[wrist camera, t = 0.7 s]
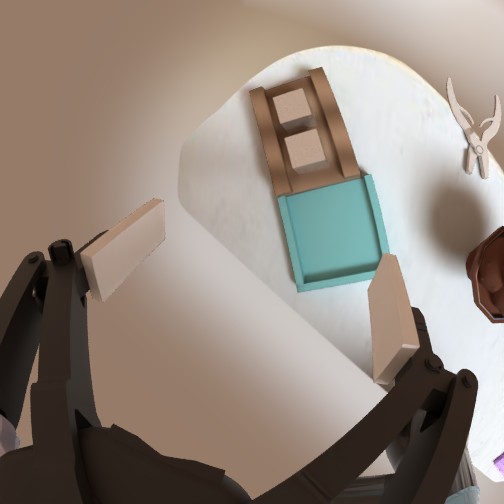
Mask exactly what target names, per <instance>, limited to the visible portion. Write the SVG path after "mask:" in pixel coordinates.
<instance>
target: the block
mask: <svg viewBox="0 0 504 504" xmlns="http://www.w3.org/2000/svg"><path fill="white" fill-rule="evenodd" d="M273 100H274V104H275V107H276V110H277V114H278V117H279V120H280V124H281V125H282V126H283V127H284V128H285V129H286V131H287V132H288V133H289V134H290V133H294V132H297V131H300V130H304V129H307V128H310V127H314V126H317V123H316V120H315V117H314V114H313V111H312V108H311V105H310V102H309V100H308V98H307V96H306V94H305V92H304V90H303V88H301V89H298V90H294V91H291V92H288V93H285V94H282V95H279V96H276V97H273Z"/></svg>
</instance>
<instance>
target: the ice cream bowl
mask: <svg viewBox="0 0 504 504" xmlns="http://www.w3.org/2000/svg"><path fill="white" fill-rule="evenodd" d="M466 269H467V275H468V278H469V279H470V280H471V282H472V289H473V297H474V302H475V304H476V306H477V307H478V308H479V309H480V310H481V311H482V312H483V313H484V315H485V316H486V317H487V318H488V319H489V320H490V321H491V322H492V323H504V226H502V227H500V228H498V229H497V230H496V231H495V232H493V233H492V234H491V235H490V236H489V237H488V238H487V239H486V240H484V241H483V242H482V243H481V244H480V245H479V246H478V247H477V248H476V249H474V250H473V251H472V252H471V253H470V254H469V257H468V260H467V263H466Z"/></svg>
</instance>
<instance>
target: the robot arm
mask: <svg viewBox="0 0 504 504" xmlns="http://www.w3.org/2000/svg"><path fill="white" fill-rule="evenodd" d="M164 240H165V227H164V200H159V199H154V198H153V199H152V200H150V201H149V202H147V203H146V204H145V205H143V206H142V207H140V208H139V209H137V210H136V211H135V212H133V213H132V214H130V215H129V216H128V217H126V218H125V219H124V220H122V221H121V222H119V223H118V224H117V225H116V226H114V227H113V228H111V229H110V230H107V231H104V232H102V233H100V234H98V235H97V236H96V237H94V239H92V240H91V241H89V243H87V244H85V245H84V246H83V247H82V248H80V249H79V250H78V251H77V252H75V253H74V251H73V247H72V243H71V241H69V240H67V239H61V240H58V241H55V242H54V243H52V244H51V245H50V246H49V247H48V251H49V254H50V258H51V261H48V260H45V258H44V255H43V253H42V252H39V251H37V252H32V253H30V254H29V255H27V256H26V257H25V258H24V259H23V261H22V263H21V264H20V266H19V267H18V269H17V270H16V272H15V274H14V275H13V277H12V279H11V280H10V282H9V284H8V286H7V287H6V289H5V291H4V293H3V294H2V296H1V298H0V504H480V502H479V487H478V486H477V481H476V477H475V474H474V469H473V466H472V462H471V458H470V455H469V452H468V448H467V445H468V437H469V431H470V427H471V422H472V418H473V413H474V408H475V403H476V397H477V391H478V381H477V378H476V376H475V375H474V373H472V372H471V371H470V370H468V369H461V370H460V371H459V372H458V373H457V374H454V373H452V372H450V371H447V370H445V369H444V365H443V363H442V360H441V359H440V358H439V357H438V356H437V355H435V354H434V353H433V351H432V347H431V342H430V338H429V334H428V332H427V331H428V330H427V326H426V323H425V319H424V316H423V314H422V313H421V311H420V310H419V309H418V308H415V307H411V305H410V301H409V298H408V294H407V290H406V287H405V283H404V280H403V277H402V273H401V270H400V267H399V264H398V261H397V257H396V256H395V255H392V254H388V253H385V252H384V254H383V256H382V258H381V261H380V263H379V266H378V268H377V270H376V273H375V275H374V277H373V279H372V282H371V284H370V286H369V288H368V299H369V309H370V321H371V334H372V351H373V380H374V383H378V384H385V385H389V384H390V383H391V381H392V380H393V379H394V378H395V386H394V387H393V388H392V389H391V391H390V392H389V393H388V394H387V395H386V396H385V397H384V398H383V399H382V400H381V401H380V402H379V403H378V404H377V405H376V406H375V407H374V408H373V409H372V410H371V411H370V412H369V413H368V414H367V415H366V416H365V417H364V418H363V419H362V420H361V421H360V422H359V423H358V424H356V425H355V426H354V427H353V428H352V429H351V430H350V431H349V432H347V433H346V434H345V435H344V436H343V437H342V438H341V439H339V440H338V441H337V442H336V443H335V444H334V445H332V446H331V447H330V448H328V449H327V450H326V451H325V452H323V454H321V455H320V456H318V457H317V458H316V459H314V460H313V461H312V462H311V463H309V464H308V465H306V466H305V467H304V468H302V469H301V470H299V471H298V472H297V473H295V474H294V475H292V476H291V477H289V478H288V479H286V480H285V481H283V482H282V483H280V484H278V485H277V486H275V487H274V488H272V489H271V490H269V491H268V492H266V493H264V494H262V495H260V496H259V497H257V498H255V499H254V500H251V498H250V496H249V495H248V494H247V492H246V491H245V490H244V489H243V488H242V487H241V486H240V485H239V484H238V483H236V482H235V481H234V480H232V479H231V478H229V477H228V476H226V475H224V474H225V470H222V469H219V468H216V467H212V466H209V465H206V464H203V463H200V462H198V461H194V460H186V459H179V458H173V457H167V456H163V455H161V454H159V453H158V452H157V451H155V450H154V449H153V448H151V447H150V446H149V445H148V444H146V443H145V442H144V441H142V440H141V439H140V438H139V437H138V436H136V435H134V434H132V433H130V432H128V431H126V430H124V429H122V428H120V427H118V426H117V425H115V424H113V425H112V426H111V428H106V427H102V426H101V423H100V420H99V418H98V416H97V413H96V409H95V402H94V396H93V389H92V381H91V372H90V361H89V350H88V330H87V297H86V292H88V290H90V292H91V296H92V298H93V299H95V300H97V301H99V302H102V303H104V302H105V301H106V299H107V298H108V297H109V296H110V295H111V294H112V293H113V292H114V291H115V290H116V289H117V287H119V285H120V284H121V283H122V282H123V281H124V280H125V279H126V278H127V277H128V276H129V275H130V274H131V273H132V272H133V271H134V270H135V269H136V268H137V267H138V265H140V264H141V263H142V262H143V261H144V259H146V258H147V257H148V256H149V255H150V254H151V253H152V252H153V251H154V250H155V249H156V248H157V247H158V246H159V245H160V244H161V243H162V242H163V241H164ZM33 290H34V294H33ZM39 343H40V346H39ZM38 346H39V363H38V364H39V365H38V381H37V383H32V385H31V390H30V396H31V397H30V401H31V424H32V438H33V445H31V446H27V447H23V448H19V449H17V448H18V447H19V445H20V440H19V438H18V437H17V436H16V432H15V431H16V428H17V426H18V422H19V420H20V416H21V412H22V408H23V403H24V398H25V394H26V389H27V385H28V381H29V377H30V373H31V370H32V366H33V362H34V359H35V356H36V352H37V349H38ZM385 449H386V454H387V457H388V459H389V461H390V463H391V465H392V467H393V469H394V471H395V473H394V474H387V475H376V476H364V477H358V476H359V475H360V474H361V473H363V471H365V470H366V469H367V468H368V467H369V466H370V465H371V464H372V463H373V462H374V461H375V460H376V459H377V457H378V456H379V455H380V454H381V453H382V452H383V451H384V450H385Z"/></svg>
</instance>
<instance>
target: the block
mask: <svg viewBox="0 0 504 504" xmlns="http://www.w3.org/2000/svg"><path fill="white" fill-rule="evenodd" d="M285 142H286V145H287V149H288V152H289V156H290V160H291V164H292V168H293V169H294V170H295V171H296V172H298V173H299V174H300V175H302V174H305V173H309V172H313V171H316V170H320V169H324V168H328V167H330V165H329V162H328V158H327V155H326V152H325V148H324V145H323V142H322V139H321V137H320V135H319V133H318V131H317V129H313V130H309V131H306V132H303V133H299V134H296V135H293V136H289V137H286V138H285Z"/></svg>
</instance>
